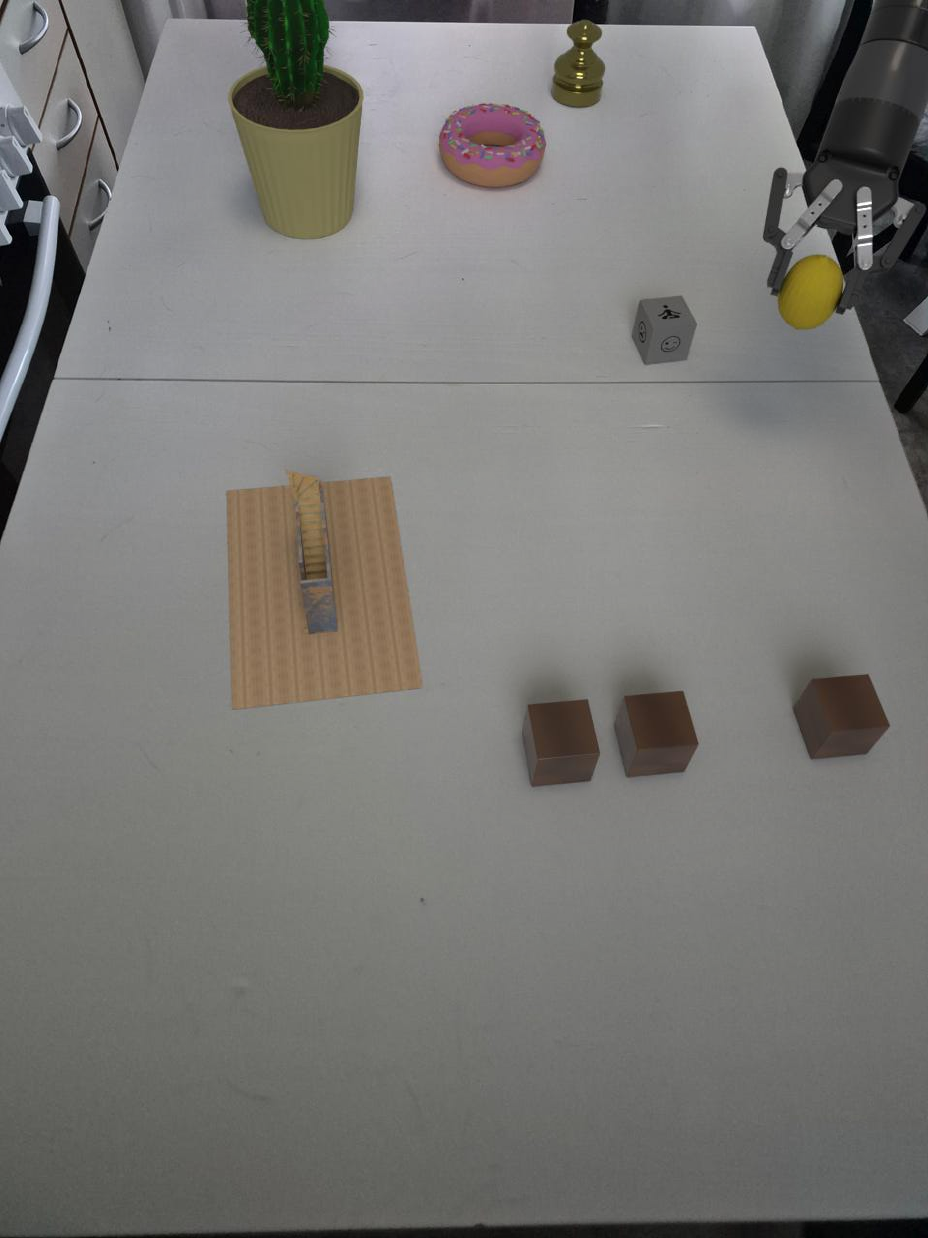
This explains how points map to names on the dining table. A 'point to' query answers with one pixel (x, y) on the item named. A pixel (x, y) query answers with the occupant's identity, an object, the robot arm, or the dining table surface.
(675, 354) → the dice cube
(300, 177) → the potted cactus
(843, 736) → the walnut block
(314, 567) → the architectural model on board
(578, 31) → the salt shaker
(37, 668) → the dining table surface
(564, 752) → the walnut block
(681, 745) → the walnut block
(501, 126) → the donut
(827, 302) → the lemon
